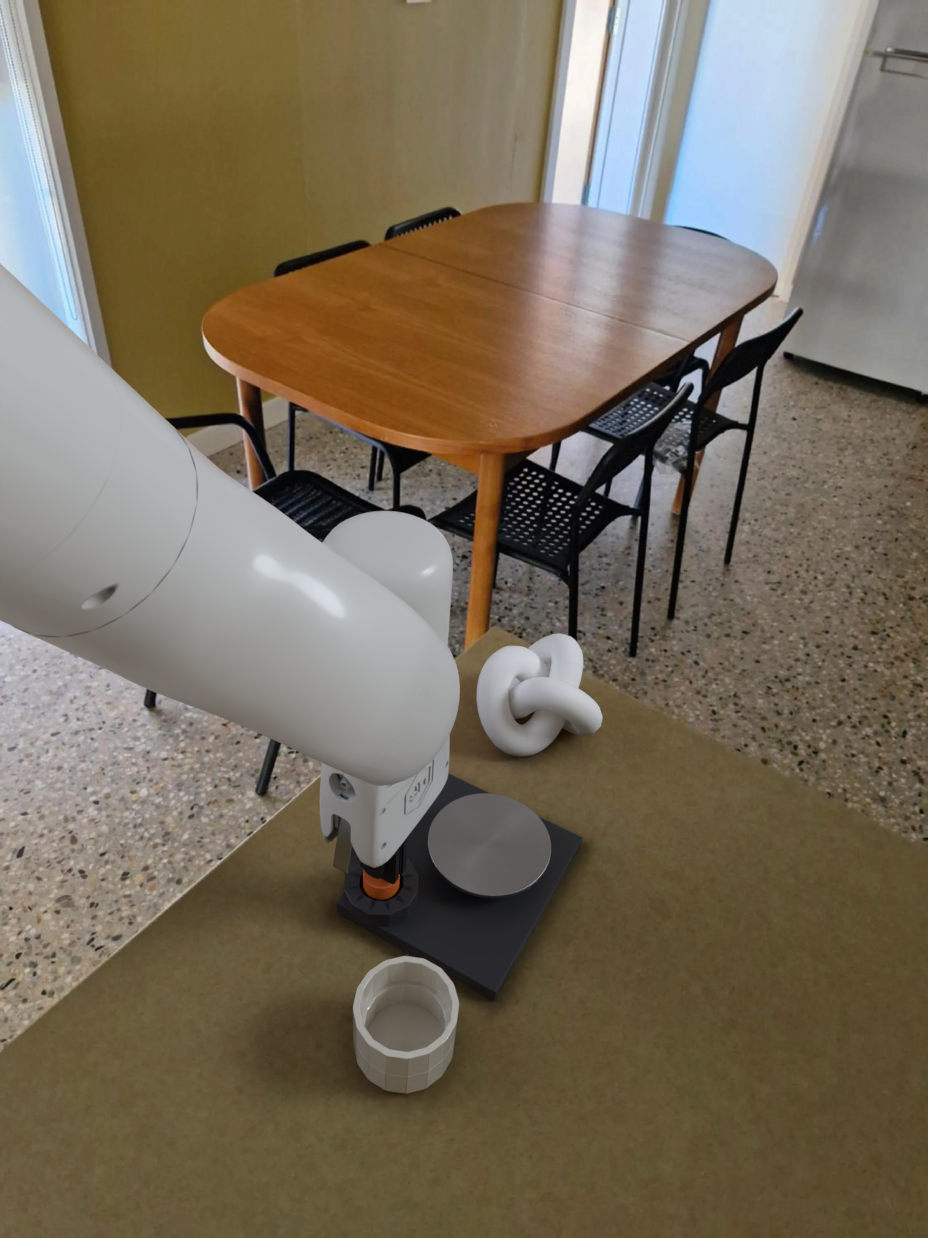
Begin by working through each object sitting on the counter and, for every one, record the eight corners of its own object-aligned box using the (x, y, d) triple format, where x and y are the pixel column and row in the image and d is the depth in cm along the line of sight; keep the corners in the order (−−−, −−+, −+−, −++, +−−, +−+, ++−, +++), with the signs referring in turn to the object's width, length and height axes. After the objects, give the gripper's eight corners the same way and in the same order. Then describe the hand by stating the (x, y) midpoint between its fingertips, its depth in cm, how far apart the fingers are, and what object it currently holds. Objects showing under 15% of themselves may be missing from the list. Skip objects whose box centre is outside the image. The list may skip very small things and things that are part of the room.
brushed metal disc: (516, 920, 67) (517, 917, 67) (404, 861, 70) (404, 858, 70) (570, 828, 74) (570, 825, 74) (465, 778, 77) (465, 775, 77)
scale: (492, 1006, 65) (495, 985, 63) (330, 914, 69) (329, 892, 68) (580, 847, 76) (585, 825, 74) (436, 778, 81) (438, 755, 79)
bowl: (420, 1117, 58) (424, 1079, 55) (334, 1062, 61) (332, 1022, 57) (471, 1028, 63) (477, 988, 60) (389, 980, 66) (390, 939, 62)
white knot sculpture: (507, 792, 80) (517, 723, 74) (447, 706, 88) (452, 637, 82) (609, 754, 85) (627, 685, 79) (543, 675, 93) (555, 608, 87)
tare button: (386, 906, 67) (386, 894, 66) (356, 889, 68) (355, 877, 67) (406, 879, 69) (406, 867, 68) (376, 863, 70) (376, 851, 69)
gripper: (368, 802, 50) (369, 971, 61) (491, 653, 60) (472, 822, 72) (261, 748, 52) (282, 921, 64) (398, 614, 63) (394, 783, 74)
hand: (382, 868), depth 68 cm, fingers closed
